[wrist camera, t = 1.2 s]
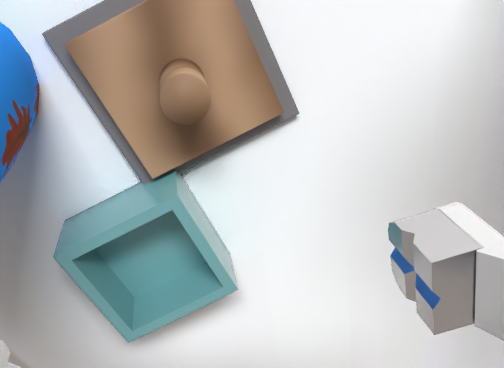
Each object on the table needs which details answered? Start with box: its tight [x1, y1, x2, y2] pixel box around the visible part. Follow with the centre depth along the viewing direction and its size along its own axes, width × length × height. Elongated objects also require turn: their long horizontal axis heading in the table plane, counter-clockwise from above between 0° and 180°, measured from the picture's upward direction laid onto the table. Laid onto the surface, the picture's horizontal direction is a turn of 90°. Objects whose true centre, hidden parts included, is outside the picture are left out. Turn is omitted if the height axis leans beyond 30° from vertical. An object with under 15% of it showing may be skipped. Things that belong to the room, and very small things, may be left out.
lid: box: [65, 0, 284, 179], centre depth 29 cm, size 10×10×5 cm
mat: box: [42, 0, 299, 184], centre depth 31 cm, size 12×12×1 cm
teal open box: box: [53, 169, 238, 343], centre depth 35 cm, size 9×9×4 cm
